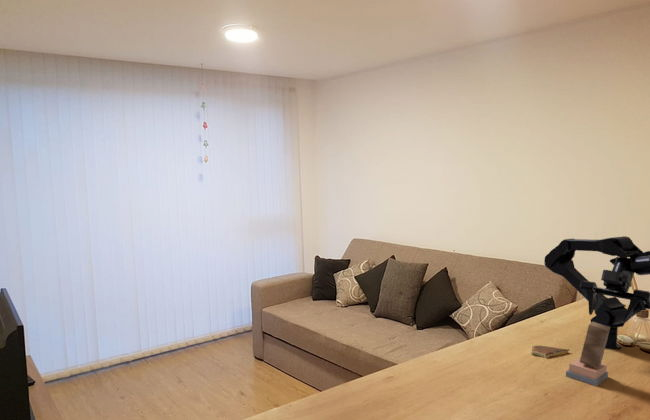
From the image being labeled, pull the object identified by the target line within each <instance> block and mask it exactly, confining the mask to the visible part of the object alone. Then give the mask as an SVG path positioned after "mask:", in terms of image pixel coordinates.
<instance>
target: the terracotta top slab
mask: <svg viewBox="0 0 650 420" xmlns="http://www.w3.org/2000/svg"><path fill="white" fill-rule="evenodd" d="M580 358H581V356H579V357H577V358H576V359H574V360H573V361H571V362H570V363H569V364H568V370H569V371H570V372H573V373H576V374H579V375H582V376H585V377H588V378H592V379H595V380H597V379H598V378H599V377H601V376H602V375H603V374H605V373H606V372H607V366H608V365H607V364H605V363H602V362H601V365H600V366H599V368H598V369H596V368H594V367H591V366H589V365H586V364H583V363H581V362H580Z"/></svg>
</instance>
